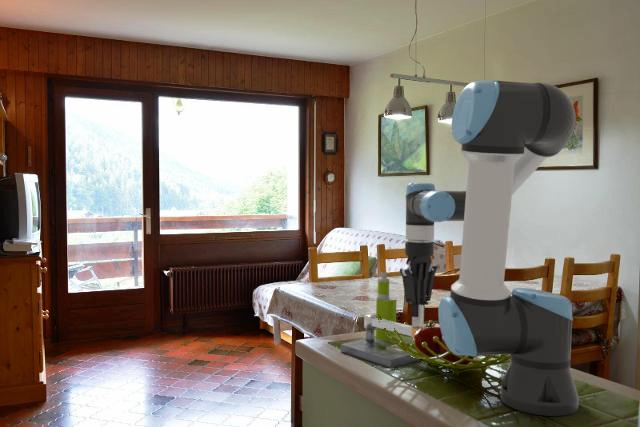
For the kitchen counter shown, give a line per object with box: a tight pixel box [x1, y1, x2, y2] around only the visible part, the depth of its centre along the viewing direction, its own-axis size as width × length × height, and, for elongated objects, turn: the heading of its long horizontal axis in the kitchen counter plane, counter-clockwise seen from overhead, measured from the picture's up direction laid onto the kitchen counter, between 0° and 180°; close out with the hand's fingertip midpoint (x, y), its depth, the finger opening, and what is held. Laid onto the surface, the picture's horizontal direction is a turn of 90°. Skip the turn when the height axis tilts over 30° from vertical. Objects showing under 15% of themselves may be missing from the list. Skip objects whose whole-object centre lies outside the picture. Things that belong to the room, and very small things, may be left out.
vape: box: [375, 271, 397, 344], centre depth 167 cm, size 4×6×20 cm, turn 48°
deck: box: [340, 329, 419, 369], centre depth 154 cm, size 18×12×5 cm, turn 40°
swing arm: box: [363, 313, 425, 340], centre depth 155 cm, size 20×3×4 cm, turn 40°
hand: (417, 328), depth 158 cm, fingers closed
